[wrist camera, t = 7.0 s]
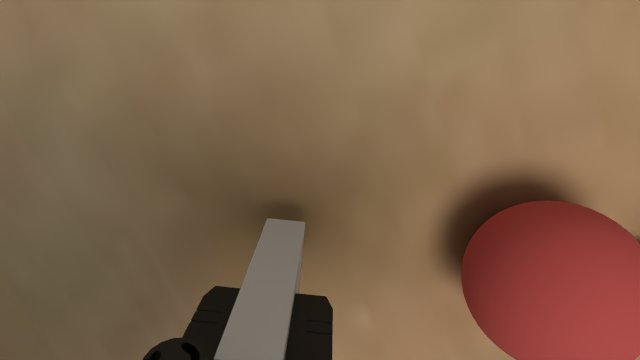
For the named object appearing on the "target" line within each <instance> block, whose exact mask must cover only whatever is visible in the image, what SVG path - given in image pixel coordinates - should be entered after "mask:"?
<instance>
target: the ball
mask: <svg viewBox="0 0 640 360" xmlns="http://www.w3.org/2000/svg"><path fill="white" fill-rule="evenodd" d="M461 278H462V288H463V293H464V297H465V300H466V303H467V306H468V308H469V310H470V312H471V314H472V316H473V318H474V319H475V321H476V323H477V324H478V326H479V327H480V328H481V329H482V331H483V332H484V333H485V334H486V336H487V337H488V338H489V339H490V340H491V341H492V342H493V343H494V344H496V345H497V346H498V347H499V348H500V349H502V350H503V351H504V352H505V353H507V354H508V355H510V356H511V357H513V358H515V359H516V360H634V359H636V358H637V357H638V356H639V355H640V243H639V242H638V241H637V240H636V239H635V238H634V237H633V236H632V235H631V234H630V233H629V232H628V231H627V230H626V229H624V228H623V227H622V226H620V225H619V224H618V223H617V222H615V221H613V220H612V219H610V218H608V217H607V216H605V215H603V214H601V213H599V212H596V211H594V210H592V209H589V208H586V207H583V206H580V205H577V204H572V203H567V202H561V201H533V202H526V203H522V204H518V205H515V206H512V207H509V208H507V209H504V210H502V211H501V212H499V213H497V214H495V215H494V216H492V217H491V218H490V219H488V220H487V221H486V222H485V223H484V224H483V225H482V226H481V227H480V228H479V229H478V230H477V231H476V232H475V234H474V235H473V237H472V238H471V240H470V242H469V244H468V246H467V248H466V250H465V253H464V257H463V262H462V269H461Z"/></svg>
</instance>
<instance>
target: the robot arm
mask: <svg viewBox="0 0 640 360" xmlns="http://www.w3.org/2000/svg"><path fill="white" fill-rule="evenodd" d="M304 232H305V222H300V221H290V220H280V219H271V218H267V220H266V223H265V225H264V228H263V231H262V233H261V236H260V238H259V241H258V244H257V246H256V249H255V252H254V254H253V257H252V259H251V262H250V265H249V267H248V270H247V273H246V275H245V278H244V281H243V283H242V286H241V288H240V289H239V288H229V287H220V286H215V287H214V288H213V289H211V290H210V291H209V292H208V293H207V294H206V295H204V296H203V298H202V300H201V302H200V304H199V306H198V308H197V311H196V312H195V314H194V316H193V318H192V319H191V323H189V325H188V327H187V329H186V331H185V333H184V335H183V337H182V338H173V339H170V340H167V341H164V342H161V343H160V344H158V345H157V346H155V347H153V348H152V349H151V350H150V351H149V352H148V353H147V354H146V355H145V357H144V358H143V360H332V322H333V309H332V307H331V305H330V303H329V301H328V299H327V297H325V296H316V295H306V294H298V291H299V284H300V276H301V265H302V254H303V243H304Z"/></svg>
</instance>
